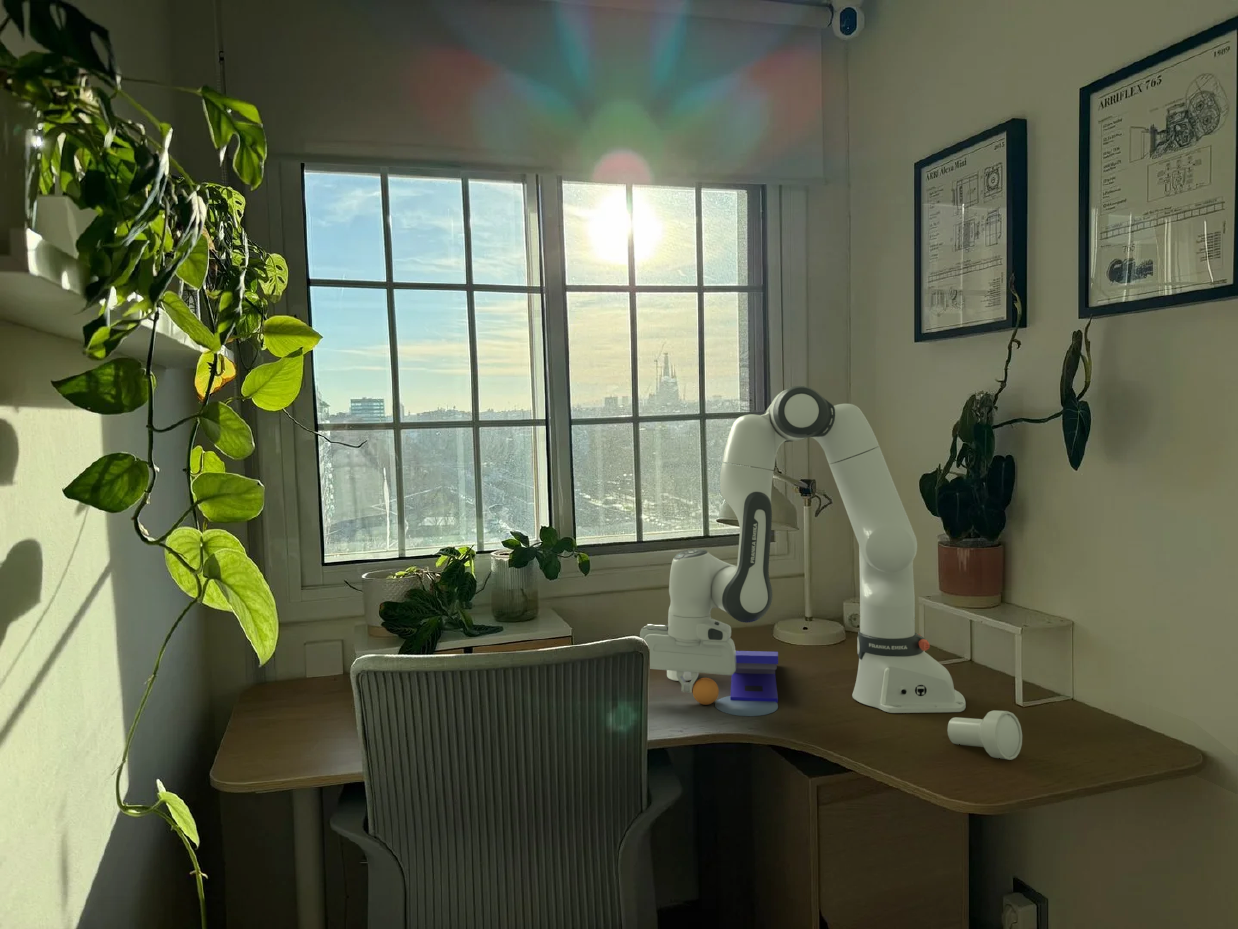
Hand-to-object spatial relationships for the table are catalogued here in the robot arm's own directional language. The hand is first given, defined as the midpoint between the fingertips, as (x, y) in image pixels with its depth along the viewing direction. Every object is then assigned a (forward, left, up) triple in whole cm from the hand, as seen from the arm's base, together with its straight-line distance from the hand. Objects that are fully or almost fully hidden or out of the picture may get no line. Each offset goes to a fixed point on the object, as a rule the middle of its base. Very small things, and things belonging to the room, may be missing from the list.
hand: (687, 691), depth 183 cm
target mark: (-12, 0, -2) cm, 13 cm away
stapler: (-13, -17, -3) cm, 22 cm away
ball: (-4, 0, 0) cm, 4 cm away
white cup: (+4, -18, -3) cm, 19 cm away
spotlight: (-56, +18, -3) cm, 59 cm away
